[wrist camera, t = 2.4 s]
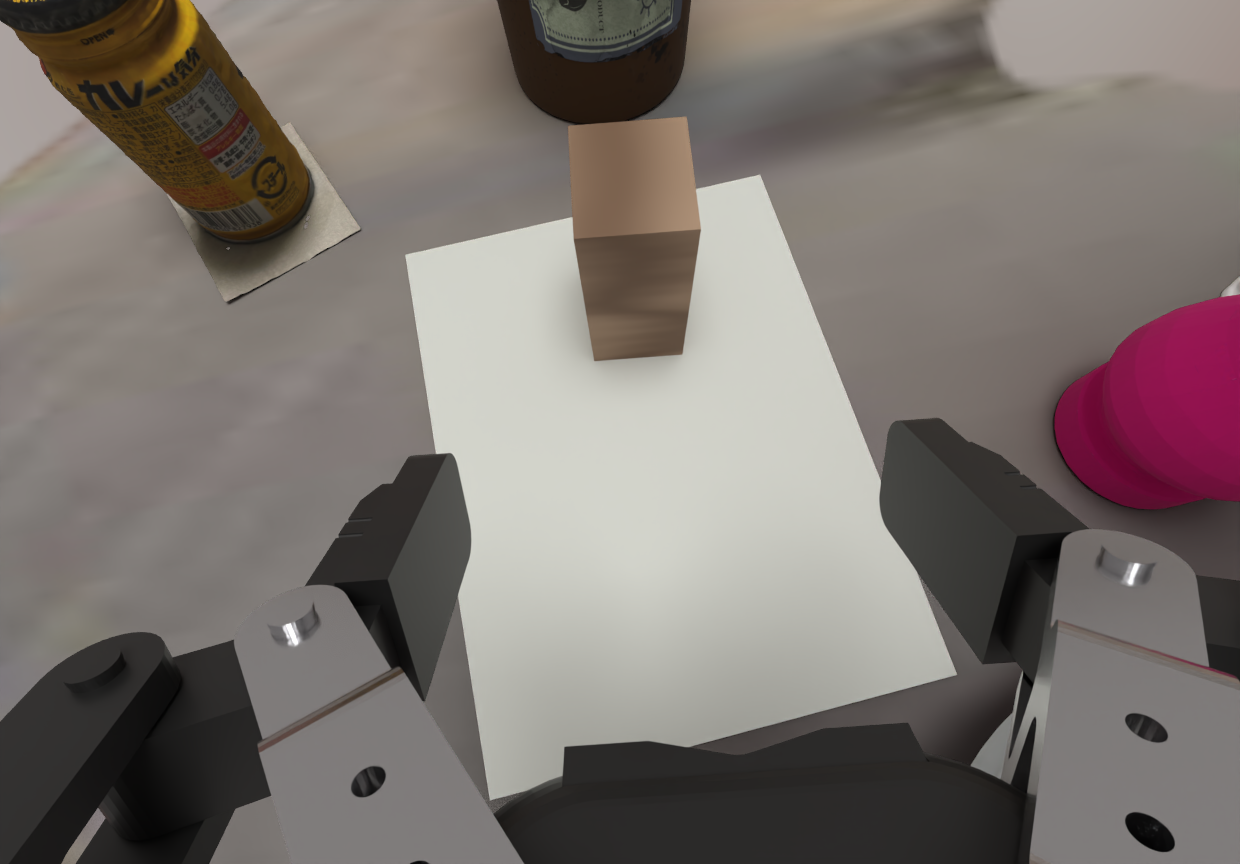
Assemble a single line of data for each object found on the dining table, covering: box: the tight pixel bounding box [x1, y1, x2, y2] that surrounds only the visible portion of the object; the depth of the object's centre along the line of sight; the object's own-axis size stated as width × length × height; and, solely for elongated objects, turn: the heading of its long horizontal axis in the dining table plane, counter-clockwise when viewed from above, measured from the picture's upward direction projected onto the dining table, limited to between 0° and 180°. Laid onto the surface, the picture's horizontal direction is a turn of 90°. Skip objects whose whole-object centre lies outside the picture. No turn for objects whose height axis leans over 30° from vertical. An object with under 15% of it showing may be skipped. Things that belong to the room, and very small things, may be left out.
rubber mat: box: [406, 175, 957, 800], centre depth 27 cm, size 18×24×1 cm
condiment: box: [0, 0, 361, 302], centre depth 26 cm, size 7×8×12 cm
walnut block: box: [568, 117, 701, 361], centre depth 24 cm, size 4×5×9 cm
